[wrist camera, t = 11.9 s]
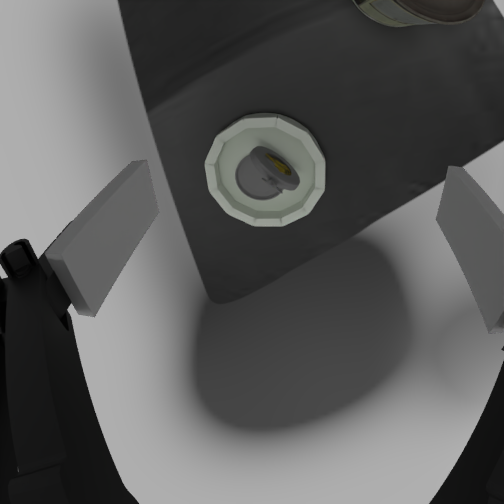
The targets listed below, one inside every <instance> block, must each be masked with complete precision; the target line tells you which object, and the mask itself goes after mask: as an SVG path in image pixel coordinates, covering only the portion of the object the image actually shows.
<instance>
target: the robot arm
mask: <svg viewBox="0 0 504 504" xmlns="http://www.w3.org/2000/svg"><path fill="white" fill-rule="evenodd" d="M158 213H159V209H158V205H157V201H156V197H155V193H154V189H153V184H152V180H151V176H150V171H149V167H148V163H147V160H140V161H132V162H131V163H130V164H129V165H128V166H127V167H126V168H125V169H123V170H122V171H121V172H120V173H119V174H118V175H117V176H116V177H115V178H114V179H113V180H112V181H111V182H110V183H109V184H108V185H107V186H106V187H105V188H104V189H103V190H102V191H101V192H100V193H99V194H98V195H97V196H96V197H95V198H94V199H93V200H92V201H91V202H90V203H89V204H88V205H87V206H86V207H85V208H84V209H83V210H82V211H81V213H80V214H79V215H78V216H77V217H76V218H75V219H74V220H73V221H71V222H70V223H69V224H68V225H67V226H66V227H65V229H64V230H63V231H62V232H61V233H60V234H59V235H58V236H57V239H55V240H54V241H53V242H52V243H51V244H50V246H49V247H48V248H47V249H46V250H45V251H44V253H43V254H42V255H41V256H40V258H39V259H37V256H36V255H35V253H34V251H33V249H32V247H31V245H30V243H29V240H27V239H20V240H17V241H15V242H13V243H11V244H10V245H8V247H6V248H5V249H4V250H3V251H2V252H1V254H0V264H1V266H2V267H3V269H4V271H5V272H6V274H7V276H8V278H4V279H1V277H0V504H139V503H138V502H137V500H136V499H135V498H134V497H133V496H132V494H131V493H130V492H129V491H128V490H127V489H126V487H125V486H124V484H123V482H122V480H121V478H120V475H119V473H118V471H117V469H116V466H115V464H114V462H113V459H112V457H111V454H110V452H109V449H108V447H107V444H106V441H105V439H104V436H103V433H102V430H101V428H100V425H99V422H98V419H97V416H96V413H95V410H94V407H93V403H92V400H91V397H90V394H89V390H88V387H87V383H86V380H85V376H84V372H83V368H82V365H81V361H80V357H79V352H78V348H77V344H76V339H75V335H74V329H73V325H72V320H71V316H70V314H69V312H68V311H67V309H68V307H69V306H70V304H71V303H72V304H73V306H74V308H75V309H76V311H77V313H78V314H79V315H85V316H91V317H95V316H96V314H97V312H98V310H99V309H100V307H101V305H102V303H103V302H104V299H105V298H106V296H107V295H108V293H109V291H110V289H111V288H112V286H113V284H114V283H115V281H116V279H117V278H118V276H119V274H120V273H121V271H122V269H123V268H124V266H125V265H126V263H127V261H128V260H129V258H130V257H131V255H132V253H133V251H134V250H135V248H136V247H137V245H138V244H139V242H140V241H141V239H142V238H143V236H144V234H145V233H146V231H147V230H148V228H149V227H150V225H151V224H152V222H153V221H154V219H155V218H156V216H157V215H158ZM436 221H437V222H438V224H439V226H440V228H441V230H442V231H443V233H444V235H445V237H446V239H447V241H448V243H449V245H450V247H451V249H452V250H453V252H454V254H455V256H456V258H457V260H458V262H459V265H460V266H461V268H462V271H463V273H464V275H465V277H466V279H467V282H468V284H469V286H470V288H471V291H472V293H473V295H474V297H475V300H476V302H477V304H478V307H479V309H480V312H481V314H482V317H483V319H484V322H485V325H486V327H487V330H488V333H489V334H492V333H502V332H504V214H503V213H502V212H501V211H500V209H499V208H498V207H497V206H496V204H495V203H494V202H493V201H492V200H491V199H490V197H489V196H488V195H487V194H486V193H485V191H484V190H483V189H482V188H481V187H480V186H479V185H478V184H477V183H476V181H475V180H474V179H473V178H472V177H471V176H470V175H469V174H468V173H467V172H466V171H465V169H464V168H462V167H455V166H448V171H447V176H446V180H445V185H444V189H443V193H442V198H441V201H440V205H439V209H438V214H437V217H436ZM502 350H503V351H504V346H503V348H502ZM429 504H504V361H503V364H502V367H501V370H500V372H499V375H498V378H497V380H496V383H495V386H494V388H493V390H492V392H491V395H490V397H489V400H488V402H487V404H486V407H485V409H484V411H483V413H482V415H481V417H480V419H479V421H478V423H477V425H476V428H475V429H474V431H473V433H472V435H471V437H470V439H469V441H468V443H467V445H466V446H465V448H464V450H463V452H462V454H461V455H460V457H459V459H458V461H457V462H456V464H455V466H454V467H453V469H452V470H451V472H450V474H449V475H448V477H447V478H446V480H445V482H444V483H443V485H442V486H441V487H440V489H439V490H438V492H437V493H436V495H435V496H434V498H433V499H432V501H431V502H430V503H429Z"/></svg>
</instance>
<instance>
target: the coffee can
mask: <svg viewBox="0 0 504 504" xmlns="http://www.w3.org/2000/svg"><path fill="white" fill-rule="evenodd" d="M352 1H353V2H354V4H355V5H356V6H357V8H358V9H359V10H360V11H361V12H362V13H363V14H365V15H366V16H367V17H369V18H370V19H372V20H374V21H376V22H378V23H380V24H383V25H386V26H392V27H405V26H409V25H421V24H437V23H438V24H445V25H454V24H461V23H464V22H467V21H469V20H471V19H473V18H474V17H475V16H476V15H477V14H478V13H479V12H480V10H481V9H482V7H483V5H484V2H485V0H352Z"/></svg>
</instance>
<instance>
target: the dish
mask: <svg viewBox="0 0 504 504" xmlns="http://www.w3.org/2000/svg"><path fill="white" fill-rule="evenodd" d="M257 146H263V147H266V148H268V149H271V150H273V151H274V152H276V153H277V154H279V155H280V156H281V157H283V158H284V159H285V160H286V161H287V162H288V163H289V164H290V165H291V166H292V167H293V168H294V169H295V171H296V172H297V174H298V176H299V178H300V184H299V186H298V187H297V188H296V189H295V190H292V191H289V190H286V189H284V190H283V191H282V192H283V193H282V194H281V193H280V194H279V195H278V196H277V197H275V198H273V199H270V200H262V201H260V200H255V199H252V198H250V197H248V196H246V195H245V194H243V193H242V192H241V190H240V189H239V188H238V186H237V184H236V180H235V171H236V168H237V166H238V164H239V162H240V161H241V160H242V159H243V158H244V157H246V156H248V155H250V152H251V151H252V149H253V148H255V147H257ZM205 170H206V176H207V182H208V188H209V191H210V193H211V194H212V196H213V197H214V198H215V199H216V201H217V202H218V203H219V204H220V206H221V207H222V208H223V209H224V211H225V212H226V213H228V214H229V215H231V216H233V217H235V218H237V219H239V220H242V221H244V222H246V223H248V224H250V225H252V226H253V225H254V226H285V225H287V224H289V223H291V222H293V221H295V220H297V219H299V218H301V217H303V216H305V215H308V213H310V211H311V210H312V209H313V207H314V206H315V204H316V203H317V201H318V200H319V198H320V197H321V195H322V194H323V192H324V190H325V157H324V154H323V152H322V151H321V149H320V147H319V145H318V143H317V141H316V139H315V138H314V136H313V135H312V134H311V133H310V131H309V130H308V129H307V128H305V127H304V126H303V125H302V124H300V123H299V122H297V121H295V120H294V119H292V118H289V117H287V116H284V115H281V114H276V113H255V114H250V115H246V116H243V117H242V118H240V119H238V120H236V121H234V122H233V123H232V124H230V125H229V126H228V127H227V128H225V129H224V130H222V131H221V132H220V133H219V134H218V135H217V136H216V138H215V140H214V142H213V145H212V147H211V149H210V151H209V154H208V156H207V158H206V161H205Z"/></svg>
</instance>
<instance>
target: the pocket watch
mask: <svg viewBox="0 0 504 504" xmlns="http://www.w3.org/2000/svg"><path fill="white" fill-rule="evenodd" d="M235 180H236V184H237V186H238V188H239V189H240V190H241V192H242V193H243V194H245V195H246V196H248V197H250V198H252V199H255V200H260V201H262V200H270V199H273V198H275V197H277V196H278V195H279V194H280V193H281V194H282V193H283V192H282V191H283V190H284V189H286V190H289V191H292V190H295V189H296V188H297V187H298V186H299V184H300V178H299V176H298V174H297V172H296V171H295V169H294V168H293V167H292V166H291V165H290V164H289V163H288V162H287V161H286V160H285V159H284V158H283V157H281V156H280V155H279V154H277V153H276V152H274V151H273V150H271V149H268V148H266V147H263V146H257V147H255V148H253V149H252V151H251V152H250V155H248V156H246V157H244V158H243V159H242V160H241V161H240V162H239V164H238V166H237V168H236V171H235Z"/></svg>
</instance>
